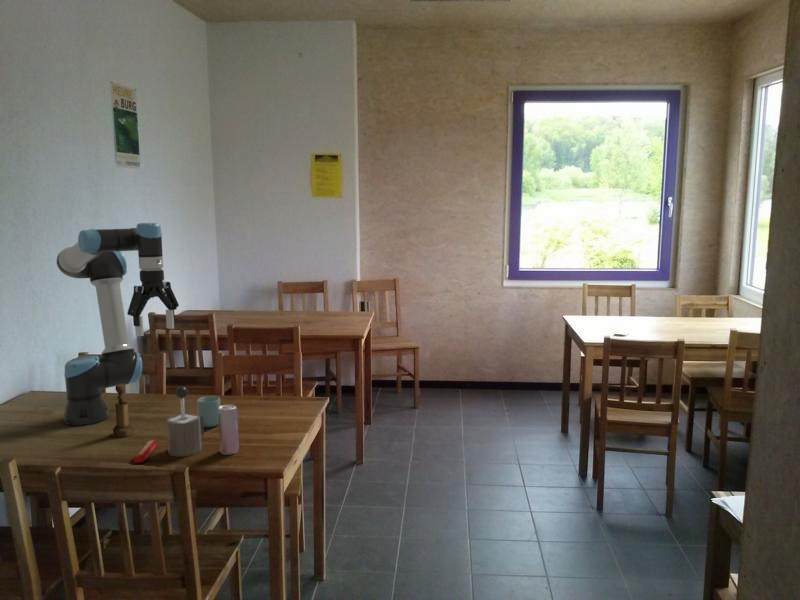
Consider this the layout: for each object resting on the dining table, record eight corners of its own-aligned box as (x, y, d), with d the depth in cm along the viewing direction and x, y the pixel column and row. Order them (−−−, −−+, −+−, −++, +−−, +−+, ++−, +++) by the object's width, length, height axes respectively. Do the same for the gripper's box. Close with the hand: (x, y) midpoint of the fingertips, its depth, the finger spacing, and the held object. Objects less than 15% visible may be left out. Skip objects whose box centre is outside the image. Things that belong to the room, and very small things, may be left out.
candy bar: (147, 446, 211) (147, 438, 210) (159, 446, 211) (158, 437, 211) (131, 466, 195) (131, 456, 195) (144, 465, 195) (143, 456, 195)
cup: (214, 430, 225) (213, 402, 224) (194, 428, 227) (193, 401, 225) (224, 422, 233) (223, 396, 231) (205, 421, 234) (204, 395, 233)
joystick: (169, 446, 204) (165, 388, 202) (184, 439, 211) (181, 382, 208) (185, 449, 202) (181, 390, 199) (200, 442, 208) (197, 385, 205)
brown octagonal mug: (162, 453, 204) (159, 421, 202) (191, 439, 216) (189, 409, 214) (185, 458, 200) (183, 425, 198) (214, 444, 212) (212, 413, 210)
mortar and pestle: (137, 431, 224) (134, 382, 221) (124, 438, 218) (120, 387, 215) (122, 429, 226) (119, 380, 224) (109, 436, 220) (105, 385, 217)
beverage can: (221, 448, 208) (219, 404, 206) (240, 448, 208) (238, 403, 206) (218, 455, 202) (215, 410, 200) (237, 455, 202) (235, 409, 200)
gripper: (129, 273, 199) (134, 339, 202) (187, 266, 221) (190, 326, 224) (112, 272, 202) (117, 337, 205) (170, 265, 224) (174, 324, 227)
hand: (155, 332), depth 214 cm, fingers open, 13 cm apart
